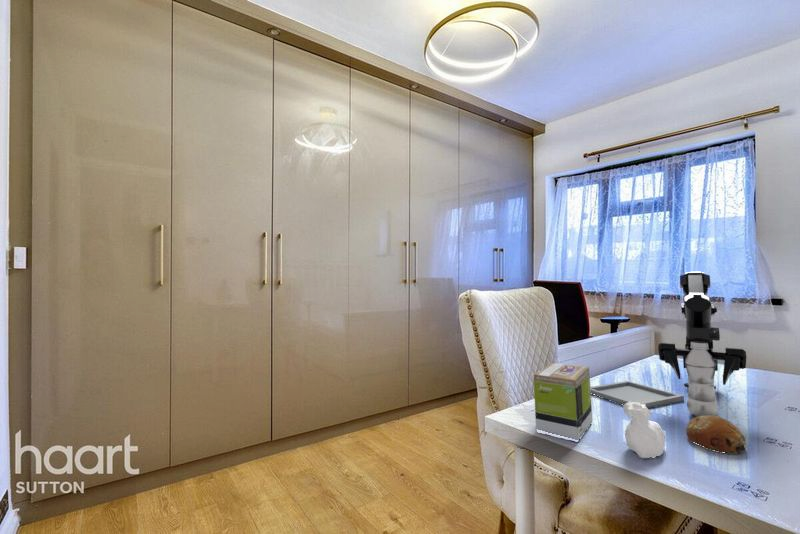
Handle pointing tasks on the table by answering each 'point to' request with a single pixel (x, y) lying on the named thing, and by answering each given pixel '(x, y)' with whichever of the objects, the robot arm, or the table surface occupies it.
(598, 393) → the tray
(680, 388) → the table surface
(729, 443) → the bread roll
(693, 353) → the plastic bottle
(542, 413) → the tea box
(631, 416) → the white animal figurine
